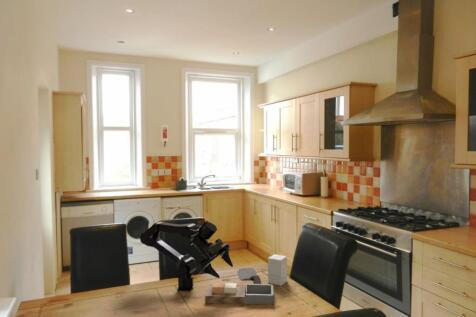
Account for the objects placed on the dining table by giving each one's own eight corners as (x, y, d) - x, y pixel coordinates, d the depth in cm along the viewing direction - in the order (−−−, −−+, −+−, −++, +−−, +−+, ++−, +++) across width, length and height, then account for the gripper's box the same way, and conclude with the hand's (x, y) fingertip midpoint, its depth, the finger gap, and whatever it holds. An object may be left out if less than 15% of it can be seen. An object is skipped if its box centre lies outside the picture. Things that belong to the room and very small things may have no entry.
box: (245, 303, 154) (245, 294, 154) (247, 292, 166) (246, 283, 166) (273, 304, 153) (273, 295, 153) (273, 292, 165) (273, 284, 165)
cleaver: (265, 290, 169) (265, 285, 169) (245, 291, 168) (245, 287, 168) (253, 269, 198) (253, 265, 198) (235, 270, 197) (235, 266, 197)
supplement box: (287, 281, 179) (287, 256, 179) (281, 286, 173) (281, 260, 172) (274, 278, 183) (274, 253, 183) (267, 283, 177) (267, 257, 176)
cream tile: (224, 293, 158) (224, 287, 158) (225, 288, 163) (225, 283, 163) (235, 293, 158) (235, 287, 158) (236, 288, 163) (236, 283, 163)
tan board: (205, 302, 156) (205, 295, 156) (209, 291, 168) (209, 284, 167) (244, 303, 154) (244, 297, 154) (245, 292, 166) (245, 285, 166)
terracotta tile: (212, 292, 159) (211, 287, 159) (213, 288, 164) (213, 282, 164) (223, 293, 158) (223, 287, 158) (224, 288, 163) (224, 283, 163)
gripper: (194, 247, 154) (218, 275, 150) (223, 227, 168) (245, 252, 163) (186, 259, 161) (209, 286, 157) (214, 239, 175) (236, 264, 170)
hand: (226, 271), depth 162 cm, fingers open, 9 cm apart
